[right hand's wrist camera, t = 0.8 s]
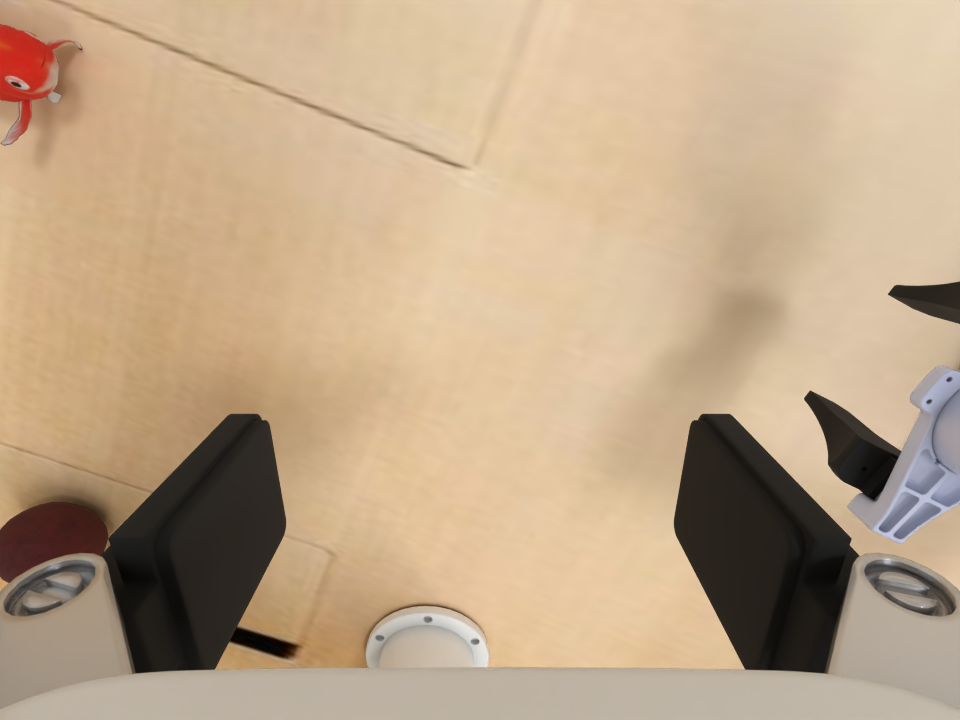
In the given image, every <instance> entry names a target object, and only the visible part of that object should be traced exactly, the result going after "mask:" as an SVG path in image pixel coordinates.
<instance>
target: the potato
mask: <svg viewBox="0 0 960 720" xmlns="http://www.w3.org/2000/svg"><path fill="white" fill-rule="evenodd" d="M107 540H108V533H107V528H106V526H105V524H104V522H103V521H102V520H101V518H100V517H99V516H98V515H97V514H95V513H94V512H93V511H91V510H89V509H87V508H85V507H82V506H79V505H75V504H70V503H65V502H51V503H46V504H41V505H38V506H35V507H32V508H30V509H28V510H25V511H23V512H21V513H20V514H18V515H16V516H15V517H13V518H12V519H10V520H9V521H8V522H7V523H6V524H5V525H4V526H3V527H2V528H1V529H0V577H1V578H2V579H3V580H4V581H6V582H8V583H10V582H11V581H12V580H14V579H15V578H16V577H18V576H19V575H21V574H23V573H24V572H26V571H28V570H29V569H31V568H33V567H35V566H37V565H40V564H42V563H44V562H46V561H49V560H52V559H55V558H58V557H62V556H65V555H70V554H77V553H91V554H96V555H98V556H101V555H102V554H103V553H104V550H105V547H106V544H107Z"/></svg>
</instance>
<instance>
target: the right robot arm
mask: <svg viewBox="0 0 960 720" xmlns="http://www.w3.org/2000/svg"><path fill="white" fill-rule="evenodd" d="M285 529H286V517H285V511H284V505H283V499H282V494H281V488H280V482H279V476H278V470H277V465H276V459H275V453H274V447H273V441H272V436H271V430H270V425H269V423H268V421H266V420H262V419H261V417H260V416H259V415H258V414H230V415H228V416H227V417H226V418H225V419H224V420H223V421H222V422H221V423H220V424H219V425H218V426H217V427H216V428H215V429H214V430H213V431H212V432H211V433H210V435H209V436H208V437H207V438H206V439H205V440H204V441H203V442H202V443H201V444H200V445H199V446H198V447H197V448H196V449H195V450H194V451H193V452H192V453H191V454H190V455H189V456H188V457H187V458H186V459H185V460H184V461H183V462H182V463H181V464H180V465H179V466H178V467H177V468H176V470H175V471H174V472H173V473H172V474H171V475H170V476H169V477H168V478H167V479H166V480H165V481H164V482H163V483H162V484H161V485H160V486H159V487H158V488H157V489H156V490H155V491H154V492H153V493H152V494H151V495H150V496H149V497H148V498H147V499H146V500H145V501H144V502H143V503H142V505H141V506H140V507H139V508H138V509H137V510H136V511H135V512H134V513H133V514H132V515H131V516H130V517H129V518H128V519H127V520H126V521H125V522H124V523H123V524H122V525H121V526H120V527H119V528H118V529H117V530H116V531H115V532H114V533H113V534H112V535H111V536H110V537H109V538H108V539H109V542H110V546H109V547H108V548H107V550H106V551H105V552H104V553H103V554H102V555H101V556H98V555H96V554H91V553H77V554H70V555H65V556H62V557H58V558H55V559H52V560H49V561H46V562H44V563H42V564H40V565H37V566H35V567H33V568H31V569H29V570H28V571H26V572H24V573H23V574H21V575H19V576H18V577H16V578H15V579H14V580H12V581H11V582H10V583H9V584H7V585H6V586H5V587H4V588H3V589H2V590H1V591H0V720H960V591H959V590H958V589H957V588H956V587H955V586H954V585H953V584H951V583H950V582H949V581H948V580H946V579H945V578H944V577H942V576H941V575H939V574H937V573H936V572H934V571H932V570H931V569H929V568H927V567H925V566H923V565H920V564H918V563H916V562H914V561H911V560H908V559H905V558H902V557H898V556H895V555H890V554H883V553H869V554H864V555H862V556H859V555H858V554H857V553H856V552H855V551H854V550H853V548H852V547H851V546H850V542H851V539H852V538H851V537H850V536H849V535H848V534H847V533H846V532H845V531H844V530H843V529H842V528H841V527H840V526H839V525H838V524H837V523H836V522H835V521H834V520H833V519H832V518H831V517H830V516H829V515H828V514H827V513H826V512H825V511H824V510H823V509H822V508H821V507H820V506H819V505H818V503H817V502H816V501H815V500H814V499H813V498H812V497H811V496H810V495H809V494H808V493H807V492H806V491H805V490H804V489H803V488H802V487H801V486H800V485H799V484H798V483H797V482H796V481H795V480H794V479H793V478H792V477H791V476H790V475H789V474H788V473H787V472H786V471H785V470H784V468H783V467H782V466H781V465H780V464H779V463H778V462H777V461H776V460H775V459H774V458H773V457H772V456H771V455H770V454H769V453H768V452H767V451H766V450H765V449H764V448H763V447H762V446H761V445H760V444H759V443H758V442H757V441H756V440H755V439H754V438H753V437H752V436H751V435H750V434H749V432H748V431H747V430H746V429H745V428H744V427H743V426H742V425H741V424H740V423H739V422H738V421H737V420H736V419H735V418H734V417H733V416H732V415H730V414H702V415H701V416H700V417H699V419H698V420H694V421H692V423H691V425H690V430H689V436H688V441H687V447H686V453H685V459H684V465H683V470H682V476H681V482H680V488H679V494H678V499H677V505H676V511H675V517H674V529H675V533H676V536H677V538H678V540H679V542H680V544H681V546H682V548H683V550H684V552H685V554H686V556H687V558H688V560H689V562H690V564H691V566H692V567H693V569H694V571H695V573H696V575H697V577H698V579H699V581H700V583H701V585H702V587H703V589H704V591H705V593H706V595H707V596H708V598H709V600H710V602H711V604H712V606H713V608H714V610H715V612H716V614H717V616H718V618H719V620H720V622H721V624H722V626H723V627H724V629H725V631H726V633H727V635H728V637H729V639H730V641H731V643H732V645H733V647H734V649H735V651H736V653H737V655H738V656H739V658H740V660H741V662H742V664H743V666H744V668H745V670H734V669H676V668H540V667H488V662H489V648H488V643H487V640H486V638H485V636H484V633H483V632H482V631H481V629H480V628H479V627H478V626H477V625H476V624H475V623H474V622H473V621H471V620H470V619H469V618H467V617H465V616H464V615H462V614H460V613H458V612H455V611H453V610H450V609H446V608H441V607H435V606H416V607H410V608H406V609H402V610H399V611H397V612H394V613H392V614H390V615H388V616H387V617H385V618H384V619H382V620H381V621H380V622H379V623H378V624H377V625H376V626H375V627H374V629H373V630H372V632H371V634H370V636H369V639H368V642H367V647H366V662H367V666H368V668H284V669H226V670H215V668H216V666H217V664H218V662H219V660H220V658H221V656H222V655H223V653H224V651H225V649H226V647H227V645H228V643H229V641H230V639H231V637H232V635H233V633H234V631H235V629H236V627H237V626H238V624H239V622H240V620H241V618H242V616H243V614H244V612H245V610H246V608H247V606H248V604H249V602H250V600H251V598H252V596H253V595H254V593H255V591H256V589H257V587H258V585H259V583H260V581H261V579H262V577H263V575H264V573H265V571H266V569H267V567H268V566H269V564H270V562H271V560H272V558H273V556H274V554H275V552H276V550H277V548H278V546H279V544H280V542H281V540H282V538H283V536H284V533H285Z"/></svg>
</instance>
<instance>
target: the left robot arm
mask: <svg viewBox="0 0 960 720" xmlns="http://www.w3.org/2000/svg"><path fill="white" fill-rule="evenodd" d="M888 295H890V296H891V297H893V298H895V299H897V300H899V301H900V302H902V303H904V304H906V305H908V306H909V307H911V308H913V309H915V310H918V311H920V312H923V313H925V314H928V315H930V316H934V317H937V318H941V319H944V320H948V321H952V322H955V323H959V324H960V282H955V283H949V284H940V285H927V286H904V285H895V286H894V287H893V288H892V290H891V291H890V292H889V293H888ZM804 400H805V401H806V402H807V404H808V405H809V406H810V408H811V409H812V411H813V412H814V414H815V416H816V418H817V419H818V421H819V424H820V426H821V428H822V430H823V433H824V436H825V439H826V443H827V449H828V465H829V467H830V468H831V470H832V471H833V472H834V473H835V475H836V476H837V477H838V478H840V479H841V480H842V481H843V482H845V483H847V484H849V485H851V486H853V487H855V488H857V489H859V490H860V491H862V492H863V493H860V494H858V495H857V496H856V497H855V498H854V499H853V500H852V501H851V502H850V503H849V504H848V505H847V508H848V509H849V510H850V511H852V512H853V513H854V514H855V515H856V516H857V517H858V518H859V519H860V520H861V521H862V522H863V523H864V524H865V525H866V526H867V527H868V528H869V529H870V530H871V531H873V532H875V533H877V534H880V535H882V536H884V537H886V538H888V539H891V540H893V541H895V542H897V543H899V544H902V543H903V542H904V541H905V540H906V539H907V538H908V537H909V536H911V535H912V534H913V533H914V532H915V531H917V530H918V529H919V528H921V527H922V526H923V525H925V524H926V523H928V522H929V521H931V520H933V519H934V518H936V517H937V516H939V515H941V514H943V513H944V512H946V511H948V510H949V509H951V508H953V507H954V506H956V505H958V504H959V503H960V369H959V370H953V369H951V368H949V367H945V366H939V367H936V368H934V369H933V370H932V371H930V373H929V374H928V375H927V376H926V377H925V378H924V379H923V380H922V382H921V383H920V384H919V385H918V386H917V387H916V388H915V389H914V391H913V392H912V394H911V395H910V402H911V403H912V404H913V405H915V406H916V407H918V408H920V410H921V412H920V414H919V416H918V418H917V420H916V422H915V424H914V426H913V429H912V431H911V433H910V435H909V437H908V439H907V441H906V443H905V445H904V447H903V450H902V451H900V450H899V449H897V448H896V447H894V446H892V445H891V444H889V443H888V442H886V441H885V440H883V439H882V438H880V437H879V436H878V435H876V434H875V433H874V432H872V431H871V430H870V429H869V428H868V427H866V426H865V425H864V424H863V423H862V422H860V421H859V420H858V419H857V418H855V417H854V416H853V415H852V414H851V413H849V412H848V411H846V410H845V409H843V408H842V407H840V406H839V405H837V404H836V403H834V402H832V401H830V400H828V399H826V398H824V397H822V396H820V395H818V394H816V393H814V392H812V391H809V393H808V394H807V395H806V396H805V398H804Z"/></svg>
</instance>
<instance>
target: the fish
mask: <svg viewBox="0 0 960 720" xmlns="http://www.w3.org/2000/svg"><path fill="white" fill-rule="evenodd" d="M66 42H72V43H75V44H76V46H77V47H78V48H79V49H81V50H82V48H81V46H80V44H79V43H78V42H74V41H69V40H56V41H49V42H47V43H44V42H43V41H42V40H41V39H40V38H38V37H37V36H36V35H34V34H32V33H30V32H27V31H20V30H16V29H15V28H12V27H9V26H6V25H1V24H0V100H4V101H10V102H19V118H18V120H17V121H16V122H15V124H14V125H13V126H12V127H11V129H10V130H9V132H8V134H7V136H6V138H5V140H3V141H2V142H1V144H2V145H4V146H5V145H9V144H12V143H13V142H15V141H16V140H17V139H18V138H19V136H21V135H22V134H23V133H24V132H25V131H26V130H27V128H28V125H29V122H30V120H31V117H32V109H31V100H34V99H40V98H43V97H45V96H47V98H48V99H49V100H50V101H51V102H53V103H57V102H58V101H59V99H60V98H61V95H60V94H58V93H55V92H53V90H54V88H55V87H56V85H57V82H58V72H59V66H58V62H57V59H56V56H55V54H54V53H53V52H52V51H53V50H54V49H55V48H57V47H59V46H61V45H62V44H64V43H66Z"/></svg>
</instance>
